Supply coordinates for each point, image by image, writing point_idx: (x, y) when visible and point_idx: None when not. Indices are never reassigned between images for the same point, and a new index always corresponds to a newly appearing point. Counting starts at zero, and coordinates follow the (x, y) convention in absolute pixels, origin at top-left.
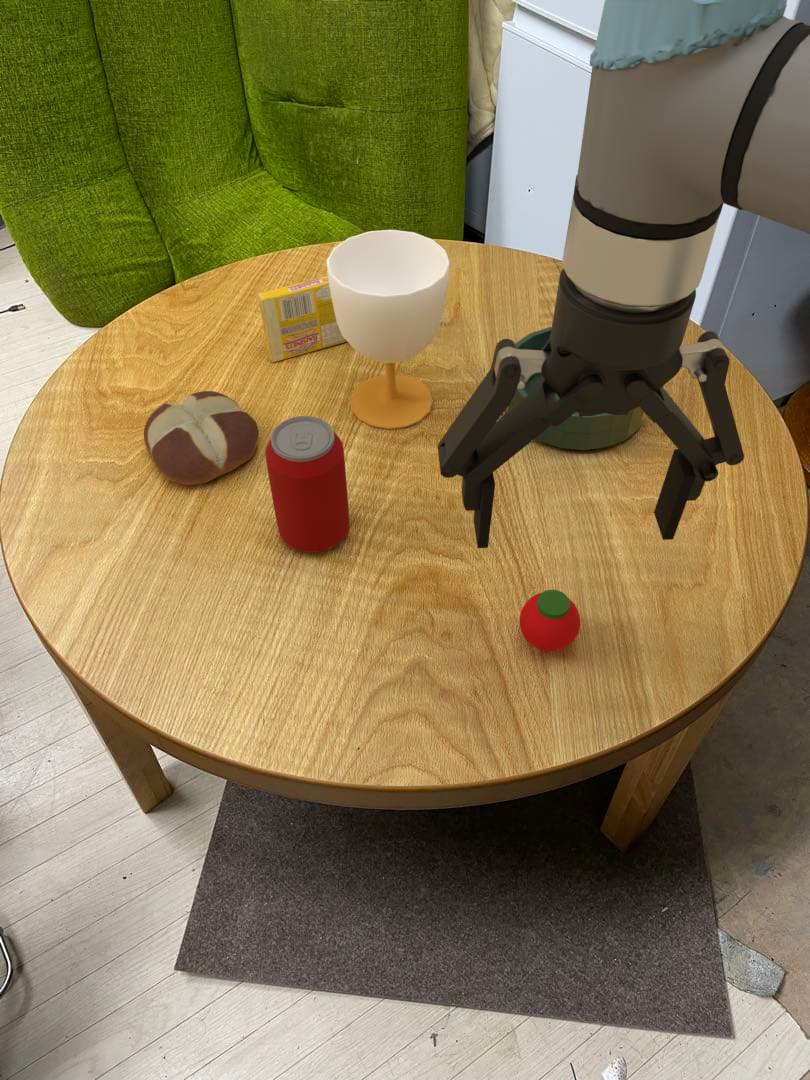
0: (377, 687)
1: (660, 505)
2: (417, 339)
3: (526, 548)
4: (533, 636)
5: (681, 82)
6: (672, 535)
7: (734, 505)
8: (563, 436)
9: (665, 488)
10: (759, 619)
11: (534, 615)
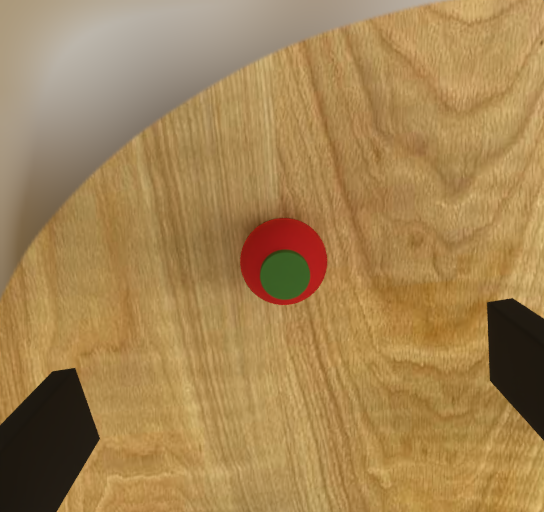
0: (512, 146)
1: (72, 455)
2: None
3: (308, 386)
4: (308, 228)
5: None
6: (49, 378)
7: None
8: None
9: (40, 508)
10: (6, 309)
11: (311, 255)
